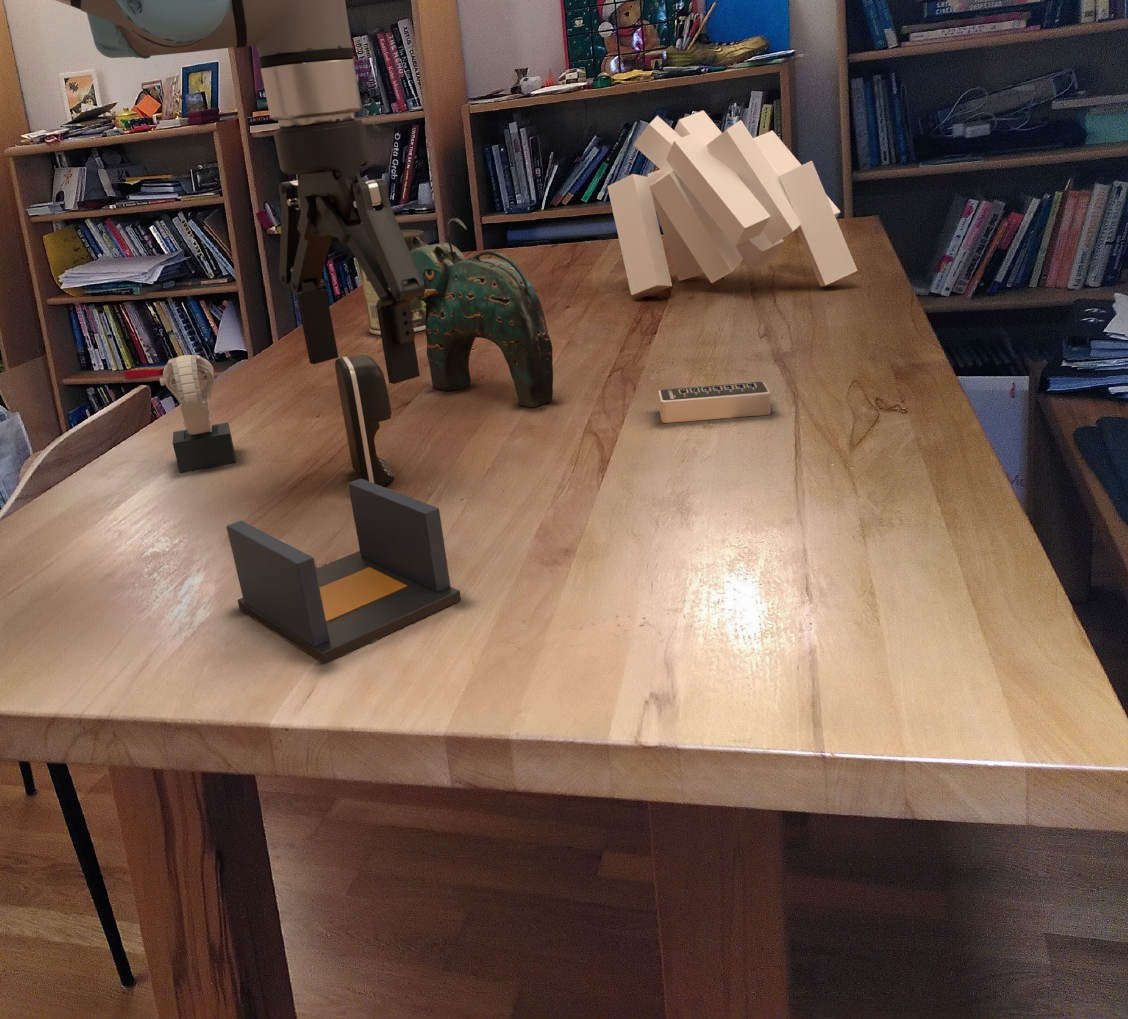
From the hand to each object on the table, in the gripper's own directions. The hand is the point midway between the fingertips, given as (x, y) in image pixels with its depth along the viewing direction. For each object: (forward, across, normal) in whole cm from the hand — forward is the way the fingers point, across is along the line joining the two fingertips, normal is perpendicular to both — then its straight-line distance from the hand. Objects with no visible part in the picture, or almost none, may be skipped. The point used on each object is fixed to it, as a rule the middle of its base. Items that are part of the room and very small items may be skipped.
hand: (362, 369), depth 94 cm
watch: (+10, +20, +8) cm, 24 cm away
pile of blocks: (+11, +27, -84) cm, 89 cm away
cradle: (+10, -21, +16) cm, 28 cm away
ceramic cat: (+11, +13, -24) cm, 29 cm away
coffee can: (+11, +55, -40) cm, 69 cm away
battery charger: (+11, 0, 0) cm, 11 cm away
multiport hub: (+11, -14, -32) cm, 36 cm away
